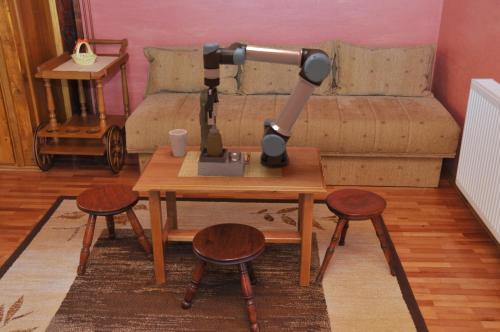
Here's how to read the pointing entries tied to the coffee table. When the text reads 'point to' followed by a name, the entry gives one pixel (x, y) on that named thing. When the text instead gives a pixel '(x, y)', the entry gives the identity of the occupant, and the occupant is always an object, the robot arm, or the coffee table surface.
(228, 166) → the grey box with recess
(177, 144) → the foam cup
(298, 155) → the coffee table surface
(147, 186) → the coffee table surface
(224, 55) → the robot arm
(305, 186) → the coffee table surface
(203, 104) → the dark brown statue
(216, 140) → the squeeze bottle
